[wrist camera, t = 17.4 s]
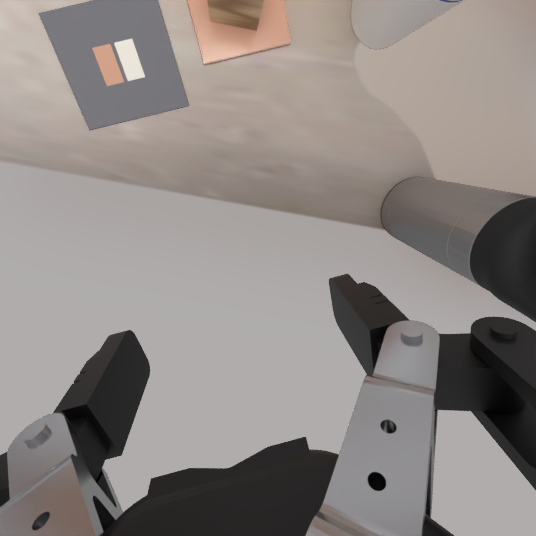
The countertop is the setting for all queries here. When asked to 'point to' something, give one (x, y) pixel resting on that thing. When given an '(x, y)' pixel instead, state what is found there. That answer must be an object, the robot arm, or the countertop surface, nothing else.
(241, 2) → the maple block
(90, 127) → the mat
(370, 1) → the cylindrical container
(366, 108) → the countertop surface
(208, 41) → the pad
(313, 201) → the countertop surface
